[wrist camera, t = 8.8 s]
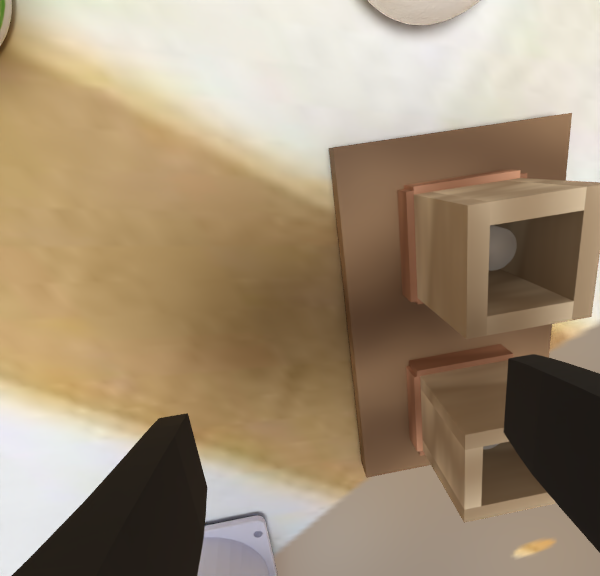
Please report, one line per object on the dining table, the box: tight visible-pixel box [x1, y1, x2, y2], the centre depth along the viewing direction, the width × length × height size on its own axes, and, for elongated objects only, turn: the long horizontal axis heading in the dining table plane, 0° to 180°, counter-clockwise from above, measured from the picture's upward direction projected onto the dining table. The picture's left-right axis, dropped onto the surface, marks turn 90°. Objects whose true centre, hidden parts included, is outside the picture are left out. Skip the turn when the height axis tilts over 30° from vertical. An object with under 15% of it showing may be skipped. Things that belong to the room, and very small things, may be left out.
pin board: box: [329, 113, 572, 477], centre depth 17 cm, size 17×10×4 cm, turn 8°
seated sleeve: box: [406, 344, 556, 522], centre depth 17 cm, size 5×5×5 cm
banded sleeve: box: [397, 170, 600, 339], centre depth 14 cm, size 5×5×5 cm
